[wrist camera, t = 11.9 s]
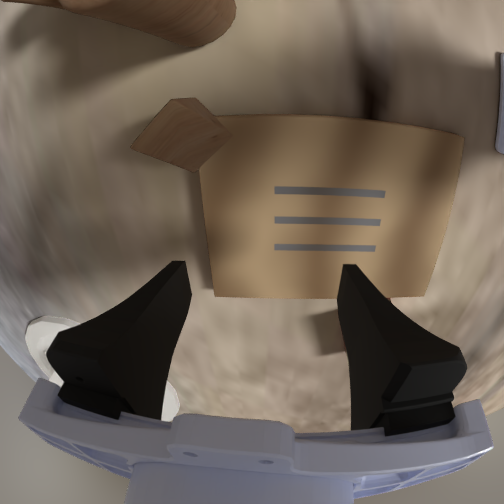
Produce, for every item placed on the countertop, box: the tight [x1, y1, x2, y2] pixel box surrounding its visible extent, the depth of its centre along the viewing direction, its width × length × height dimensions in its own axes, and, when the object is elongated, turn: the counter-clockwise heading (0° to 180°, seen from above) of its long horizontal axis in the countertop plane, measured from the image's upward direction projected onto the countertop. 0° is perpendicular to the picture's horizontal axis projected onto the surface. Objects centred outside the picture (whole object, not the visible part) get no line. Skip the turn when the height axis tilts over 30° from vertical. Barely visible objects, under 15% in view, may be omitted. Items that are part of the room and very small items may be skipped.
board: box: [199, 114, 465, 299], centre depth 19 cm, size 17×13×1 cm
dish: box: [25, 316, 180, 422], centre depth 31 cm, size 25×25×11 cm
